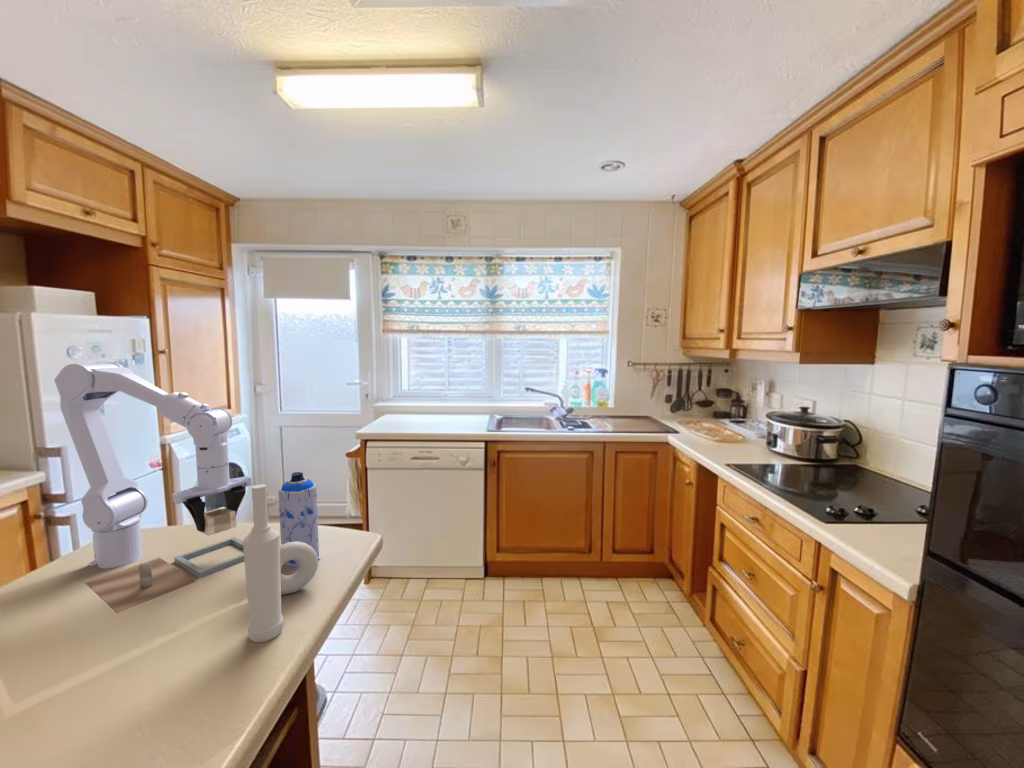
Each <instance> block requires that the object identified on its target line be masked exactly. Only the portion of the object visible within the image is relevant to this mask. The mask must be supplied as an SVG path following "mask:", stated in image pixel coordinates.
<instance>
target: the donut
mask: <svg viewBox="0 0 1024 768" xmlns="http://www.w3.org/2000/svg"><path fill="white" fill-rule="evenodd" d="M290 560H297V561H298V562H299V564H300V565H299V568H297V570H296V571H295V572H294V573H292V574H289V575H286V574H283V573H282V571H281V570H282V568H283V566H284V565H285V564H284V563H286V562H287V561H290ZM318 567H319V561H318V558H317V553H316V552H315V550H314V549H313V547H311V546H310V545H308V544H306V543H303V542H298V541H296V542H288V543H286V544H283V545H281V544H280V577H281V595H289V594H294V593H295V592H297V591H300V590H301V589H303V588H304V587H306V586H307V585H308V584H309V583H310V582H311V580H312V579H313V578H314V577H315V574H316V572H317V570H318Z"/></svg>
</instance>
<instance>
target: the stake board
mask: <svg viewBox="0 0 1024 768" xmlns="http://www.w3.org/2000/svg"><path fill="white" fill-rule="evenodd" d="M196 582H197V580H194V578H192V577H190V576H189V575H187V574H186V573H184V572H183V571H181V570H180V569H179V568H176V567H175V566H173V564H170V563H169V562H167V561H165V560H164V559H163V558H161V557H157V558H155V559H151V560H148V561H145V562H142V563H139V564H136V565H133V566H130V567H126V568H124V569H122V570H119V571H118V570H117V571H116V572H112V573H109V574H107V575H103V576H101V577H98V578H94V579H91V580H89V581H85V582H84V583H85V584H86V585H87V586H88V587H89V588H90V589H91V590H92V591H93V592H95V594H97V595H98V597H99V598H101V599H102V601H104V602H105V603H106V604H107V605H108V606H109V607H110V608H111V609H112V610H113V611H115V613H120V612H123V611H125V610H127V609H130V608H132V607H135V606H138V605H140V604H143V603H145V602H147V601H150V600H152V599H153V600H154V599H155V598H159V597H160V596H162V595H165V594H168V593H170V592H174V591H177V590H178V589H181V588H183V587H186V586H189V585H191V584H194V583H196Z"/></svg>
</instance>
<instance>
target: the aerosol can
mask: <svg viewBox="0 0 1024 768" xmlns="http://www.w3.org/2000/svg"><path fill="white" fill-rule="evenodd" d="M290 477H291V478H290V479H288V480H287V481H285V482H284V483H283V484H282V485H281V487H280V488H279V491H278V505H279V506H278V509H279V510H278V511H279V528H280V533H279V534H280V545H283V544H286V543H288V542H296V541H298V542H303V543H306V544H308V545H310V546H311V547H313V549H314V550H315V552H316V553H317V558H318V559H319V554H320V545H319V544H320V543H319V540H320V539H319V518H318V517H319V516H318V495H317V494H318V492H317V485H316V483H315V482H313V480H311V479H309V478H307V477H304V472H303V471H302V472H301V471H299V472H298V471H296V472H292V473H291V476H290ZM284 565H285V566H291V567H295V568H297V569H298V568H299V565H300V564H299V562H298V561H297V560H290V561H287V562H286V563H284Z"/></svg>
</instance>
